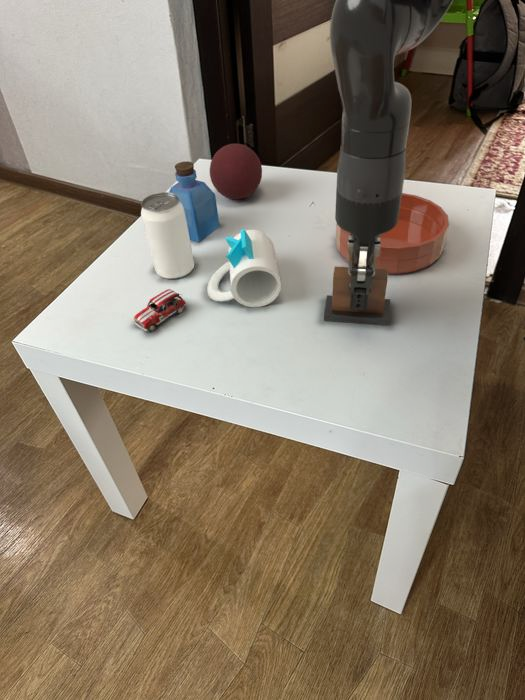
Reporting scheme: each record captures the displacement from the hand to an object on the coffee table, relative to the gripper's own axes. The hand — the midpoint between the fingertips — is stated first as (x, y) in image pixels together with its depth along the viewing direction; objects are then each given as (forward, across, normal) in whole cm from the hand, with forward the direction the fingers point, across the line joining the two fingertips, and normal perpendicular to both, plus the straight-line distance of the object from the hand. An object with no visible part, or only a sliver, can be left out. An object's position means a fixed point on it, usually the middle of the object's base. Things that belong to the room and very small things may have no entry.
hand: (358, 301), depth 69 cm
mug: (+2, +5, +18) cm, 19 cm away
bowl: (+2, +18, -4) cm, 19 cm away
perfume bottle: (+2, +20, +30) cm, 36 cm away
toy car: (+2, -4, +28) cm, 28 cm away
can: (+2, +8, +30) cm, 31 cm away
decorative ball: (+2, +33, +25) cm, 41 cm away
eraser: (+2, 0, 0) cm, 2 cm away
